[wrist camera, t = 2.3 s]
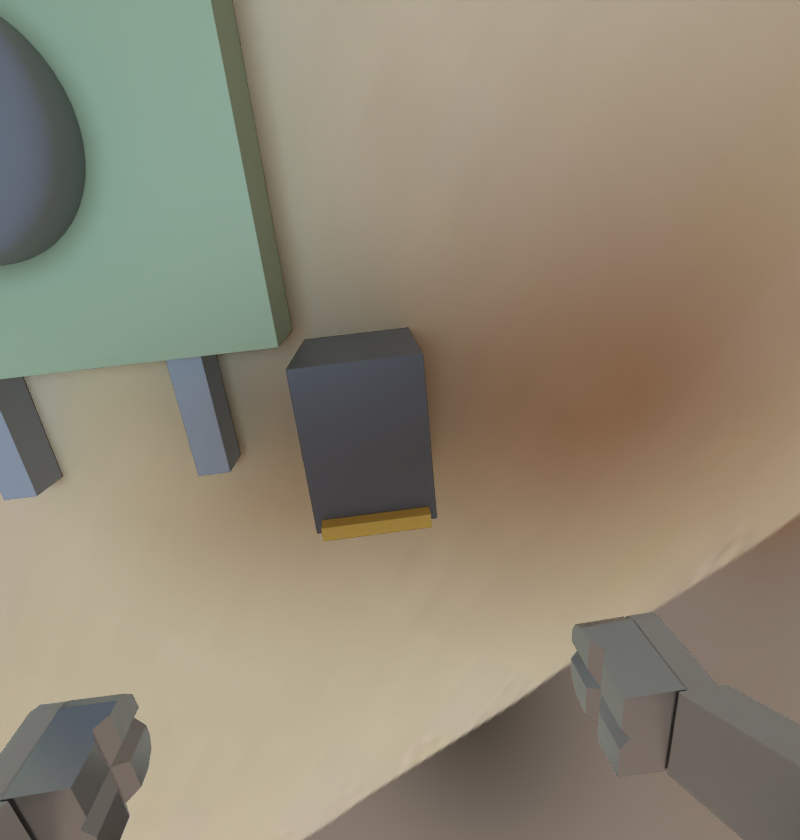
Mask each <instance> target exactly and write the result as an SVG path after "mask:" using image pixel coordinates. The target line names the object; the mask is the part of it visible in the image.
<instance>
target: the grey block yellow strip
mask: <svg viewBox="0 0 800 840" xmlns="http://www.w3.org/2000/svg"><path fill="white" fill-rule="evenodd" d="M286 374H287V379H288V384H289V390H290V395H291V400H292V405H293V410H294V415H295V421H296V426H297V431H298V436H299V441H300V446H301V452H302V457H303V462H304V467H305V472H306V477H307V483H308V488H309V493H310V498H311V503H312V508H313V514H314V519H315V524H316V529H317V534H319V533H322V536H323V541H330V540H338V539H345V538H353V537H361V536H368V535H376V534H384V533H391V532H399V531H407V530H414V529H422V528H429V527H432V522H431V519H435V518H437V512H436V500H435V488H434V477H433V465H432V453H431V442H430V430H429V418H428V406H427V395H426V383H425V371H424V359H423V353H422V351H421V349H420V348H419V346H418V344H417V342H416V341H415V339H414V337H413V335H412V334H411V332H410V330H409V328H399V329H390V330H382V331H373V332H364V333H356V334H347V335H338V336H330V337H321V338H312V339H304V341H303V343H302V344H301V346H300V348H299V349H298V351H297V352H296V354H295V356H294V357H293V359H292V360H291V362H290V364H289V365H288V367H287V369H286Z"/></svg>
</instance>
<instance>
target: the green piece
mask: <svg viewBox="0 0 800 840" xmlns="http://www.w3.org/2000/svg"><path fill="white" fill-rule="evenodd" d="M291 331H292V327H291V321H290V316H289V310H288V305H287V299H286V294H285V288H284V283H283V277H282V272H281V266H280V261H279V255H278V250H277V244H276V239H275V233H274V228H273V222H272V217H271V211H270V206H269V200H268V195H267V189H266V184H265V178H264V173H263V167H262V162H261V156H260V151H259V145H258V140H257V134H256V129H255V123H254V117H253V112H252V106H251V101H250V95H249V90H248V84H247V79H246V73H245V68H244V62H243V57H242V51H241V46H240V40H239V35H238V29H237V24H236V18H235V13H234V7H233V2H232V0H0V492H1V494H2V496H3V499H4V500H10V499H18V498H26V497H34V496H38V495H39V494H40V493H42V492H43V491H44V490H46V489H47V488H48V487H50V486H51V485H52V484H53V483H55V482H56V481H57V480H59V479H60V478H61V477H62V474H61V471H60V469H59V466H58V464H57V461H56V459H55V456H54V454H53V451H52V449H51V446H50V444H49V442H48V439H47V437H46V434H45V432H44V429H43V427H42V424H41V422H40V419H39V417H38V414H37V412H36V409H35V407H34V404H33V402H32V399H31V397H30V394H29V392H28V389H27V387H26V384H25V382H24V379H23V377H24V376H33V375H42V374H50V373H59V372H68V371H76V370H85V369H94V368H103V367H111V366H120V365H129V364H138V363H146V362H155V361H164V360H166V363H167V367H168V370H169V374H170V377H171V381H172V384H173V388H174V391H175V395H176V398H177V402H178V405H179V409H180V412H181V416H182V419H183V423H184V427H185V430H186V434H187V437H188V441H189V444H190V448H191V451H192V455H193V458H194V462H195V465H196V469H197V472H198V476H203V475H211V474H219V473H227V472H231V470H232V468H233V467H234V465H235V463H236V461H237V460H238V458H239V456H240V451H239V447H238V443H237V438H236V434H235V430H234V426H233V422H232V418H231V414H230V410H229V406H228V402H227V397H226V393H225V389H224V385H223V381H222V377H221V373H220V369H219V365H218V360H217V356H216V354H225V353H234V352H242V351H251V350H260V349H269V348H277V347H279V346H280V345H281V343H282V342H283V341H284V340H285V338H286V337H287V336H288V335H289V334H290V332H291Z"/></svg>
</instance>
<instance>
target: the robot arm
mask: <svg viewBox="0 0 800 840" xmlns="http://www.w3.org/2000/svg"><path fill="white" fill-rule="evenodd" d="M572 642H573V644H574V646H575V647H576V649H577V652H576V653H575V654H574V656H573V657H572V658H571V674H572V679H573V684H574V689H575V691H576V694H577V697H578V700H579V702H580V704H581V706H582V708H583V710H584V712H585V714H586V715H587V716H589V717H590V718H591V719H593V720H594V721H595V722H597V723H598V740H599V742H600V744H601V746H602V748H603V750H604V752H605V754H606V756H607V758H608V760H609V762H610V764H611V766H612V768H613V770H614V772H615V774H616V776H617V777H625V776H632V775H640V774H647V773H654V772H662V771H667V774H668V775H669V776H670V777H671V778H673V779H674V780H675V781H676V782H677V783H678V784H679V785H681V786H682V787H683V788H684V789H685V790H686V791H687V792H689V793H690V794H691V795H692V796H694V798H696V799H697V800H698V801H699V802H700V803H701V804H703V805H704V806H705V807H706V808H707V809H708V810H710V811H711V812H712V813H713V814H714V815H715V816H717V817H718V818H719V819H720V820H721V821H722V822H724V823H725V824H726V825H727V826H728V827H729V828H730V829H732V830H733V831H734V832H735V833H736V834H737V835H739V836H740V837H741V838H742V839H743V840H800V724H799V723H797V722H795V721H793V720H791V719H789V718H788V717H785V716H784V715H782V714H780V713H778V712H777V711H774V710H773V709H771V708H769V707H767V706H765V705H764V704H762V703H760V702H758V701H756V700H755V699H753V698H751V697H749V696H747V695H745V694H744V693H742V692H740V691H738V690H736V689H734V688H732V687H731V686H729V685H718V684H717V683H716V682H715V681H714V680H713V678H712V677H711V676H710V675H709V674H708V672H707V671H706V670H705V669H704V668H703V667H702V666H701V664H700V663H699V662H698V661H697V660H696V658H695V657H694V656H693V655H692V654H691V653H690V651H689V650H688V649H687V648H686V647H685V645H684V644H683V643H682V642H681V641H680V640H679V639H678V637H677V636H676V635H675V634H674V632H673V631H672V630H671V629H670V628H669V627H668V625H667V624H666V623H665V622H664V621H663V620H662V618H661V617H660V616H659V615H657V614H656V613H654V612H650V613H643V614H637V615H631V616H626V617H617V618H611V619H605V620H599V621H593V622H587V623H581V624H575V625H574V627H573V630H572ZM138 708H139V707H138V705H137V703H136V700H135V698H134V696H133V694H118V695H110V696H103V697H95V698H87V699H79V700H71V701H66V702H59V703H51V704H43V705H39V706H38V707H37V708H35V709H34V710H33V711H31V712H30V713H29V714H28V716H27V717H26V718H25V720H24V721H23V723H22V724H21V725H20V727H19V728H18V730H17V731H16V732H15V734H14V735H13V737H12V738H11V740H10V741H9V742H8V744H7V745H6V747H5V748H4V749H3V751H2V752H1V754H0V840H120V839H121V836H122V834H123V831H124V829H125V826H126V824H127V821H128V819H129V812H128V808H127V804H126V802H127V801H128V800H129V799H130V798H131V797H132V796H133V795H134V794H135V793H136V792H137V791H138V789H139V788H140V787H141V786H142V783H143V781H144V778H145V775H146V773H147V770H148V766H149V760H150V754H151V741H150V734H149V731H148V729H147V726H146V725H145V724H144V723H142V722H140V721H139V720H137V719H135V718H134V716H135V714H136V712H137V710H138Z"/></svg>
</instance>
